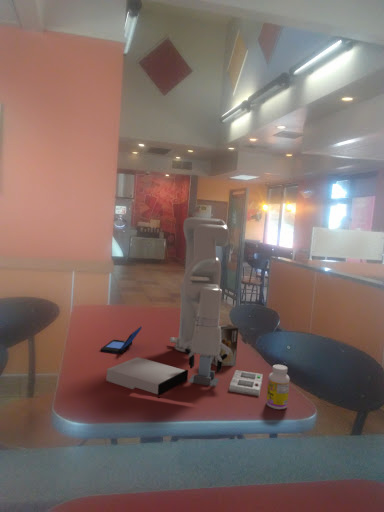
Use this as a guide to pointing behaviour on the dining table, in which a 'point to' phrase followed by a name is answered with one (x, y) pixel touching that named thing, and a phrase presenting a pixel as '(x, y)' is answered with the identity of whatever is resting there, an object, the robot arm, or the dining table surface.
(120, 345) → the handheld game console
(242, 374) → the port panel
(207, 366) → the plug
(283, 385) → the supplement bottle
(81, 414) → the dining table surface
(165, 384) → the disc drive
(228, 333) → the coffee box
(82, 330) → the dining table surface
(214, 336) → the robot arm
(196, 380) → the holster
